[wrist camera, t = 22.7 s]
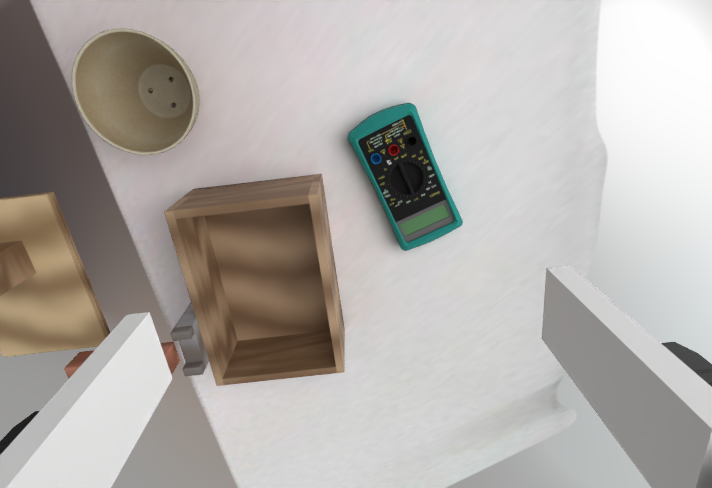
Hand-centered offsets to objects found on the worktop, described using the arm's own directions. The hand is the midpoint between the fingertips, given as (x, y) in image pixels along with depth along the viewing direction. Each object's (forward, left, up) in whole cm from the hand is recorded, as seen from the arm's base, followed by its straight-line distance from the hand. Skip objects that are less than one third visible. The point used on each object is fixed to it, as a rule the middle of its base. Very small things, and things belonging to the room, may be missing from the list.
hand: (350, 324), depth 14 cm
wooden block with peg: (+10, -39, -33) cm, 52 cm away
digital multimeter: (+4, +6, -33) cm, 34 cm away
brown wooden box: (+12, -10, -33) cm, 36 cm away
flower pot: (-8, -17, -33) cm, 38 cm away
